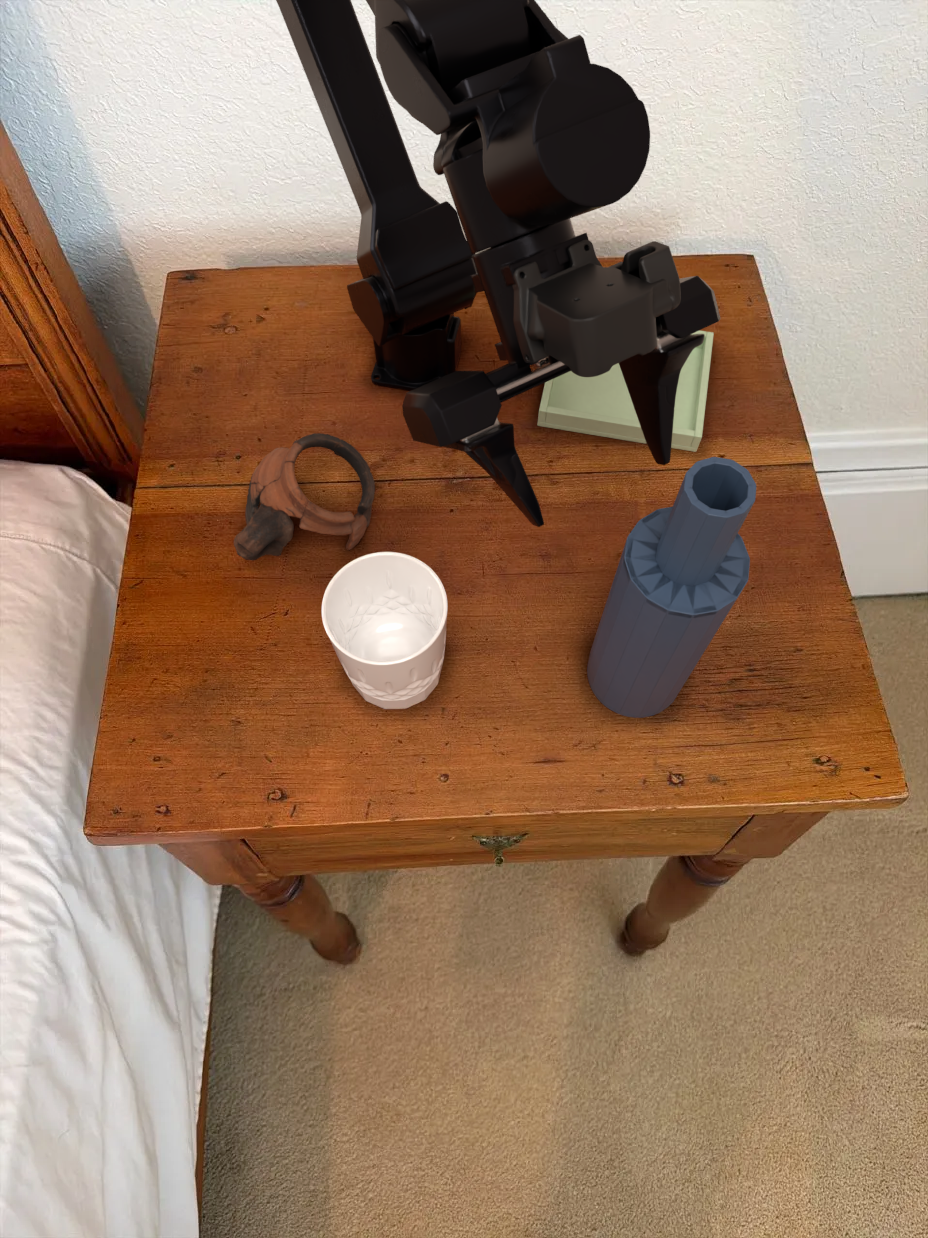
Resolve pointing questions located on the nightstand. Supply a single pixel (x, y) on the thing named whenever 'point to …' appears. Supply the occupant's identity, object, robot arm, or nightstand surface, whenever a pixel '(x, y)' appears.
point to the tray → (627, 402)
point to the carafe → (672, 590)
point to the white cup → (388, 627)
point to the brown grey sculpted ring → (298, 501)
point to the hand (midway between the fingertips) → (602, 493)
